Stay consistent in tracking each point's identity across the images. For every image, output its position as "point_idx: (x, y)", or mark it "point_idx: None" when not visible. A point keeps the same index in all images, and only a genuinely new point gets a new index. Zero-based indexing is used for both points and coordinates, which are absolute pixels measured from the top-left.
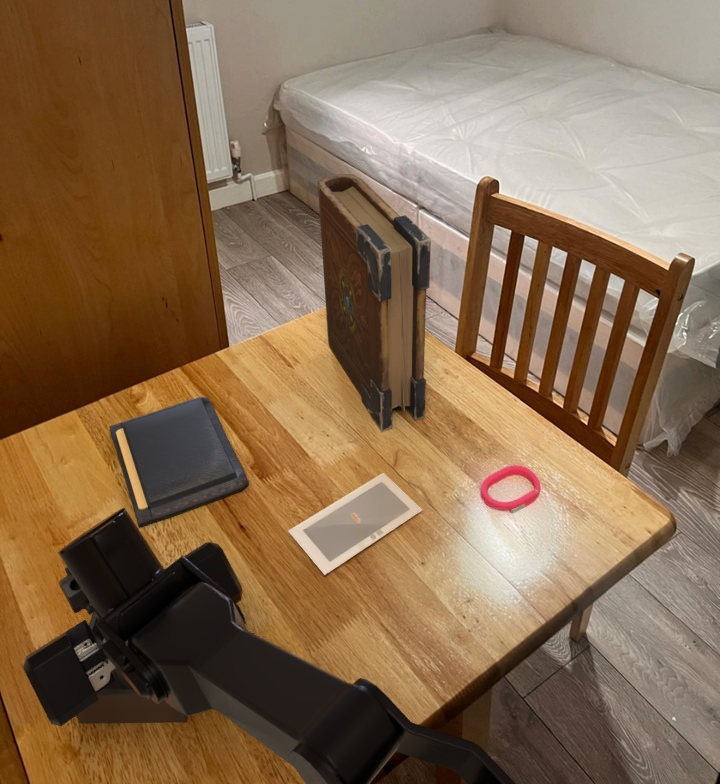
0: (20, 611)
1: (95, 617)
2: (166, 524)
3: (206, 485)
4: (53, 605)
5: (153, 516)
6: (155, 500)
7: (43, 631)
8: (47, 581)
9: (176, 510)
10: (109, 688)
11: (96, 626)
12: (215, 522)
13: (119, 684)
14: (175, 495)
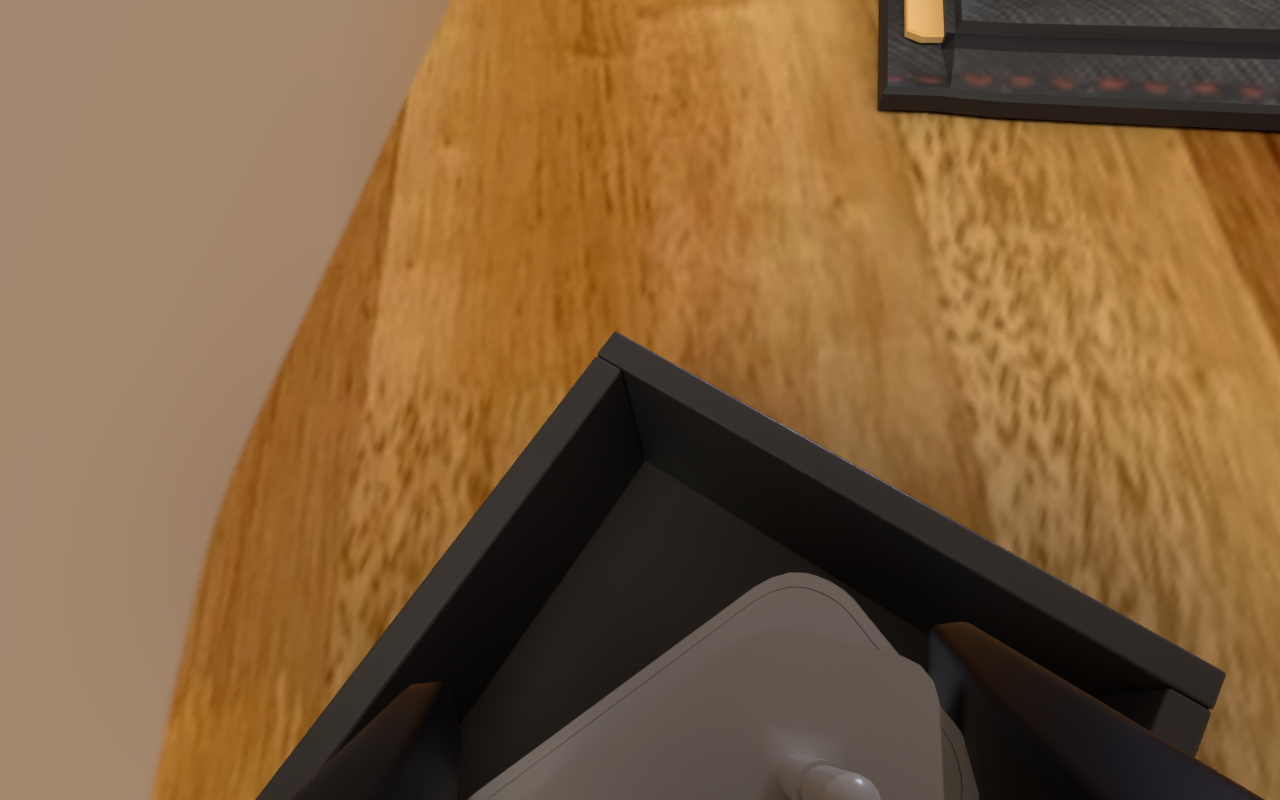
0: (386, 224)
1: (547, 459)
2: (987, 140)
3: (1234, 42)
4: (486, 256)
5: (954, 84)
6: (989, 20)
7: (417, 335)
8: (505, 162)
9: (1056, 99)
10: None
11: (542, 500)
12: (1209, 220)
13: None
14: (1079, 33)
